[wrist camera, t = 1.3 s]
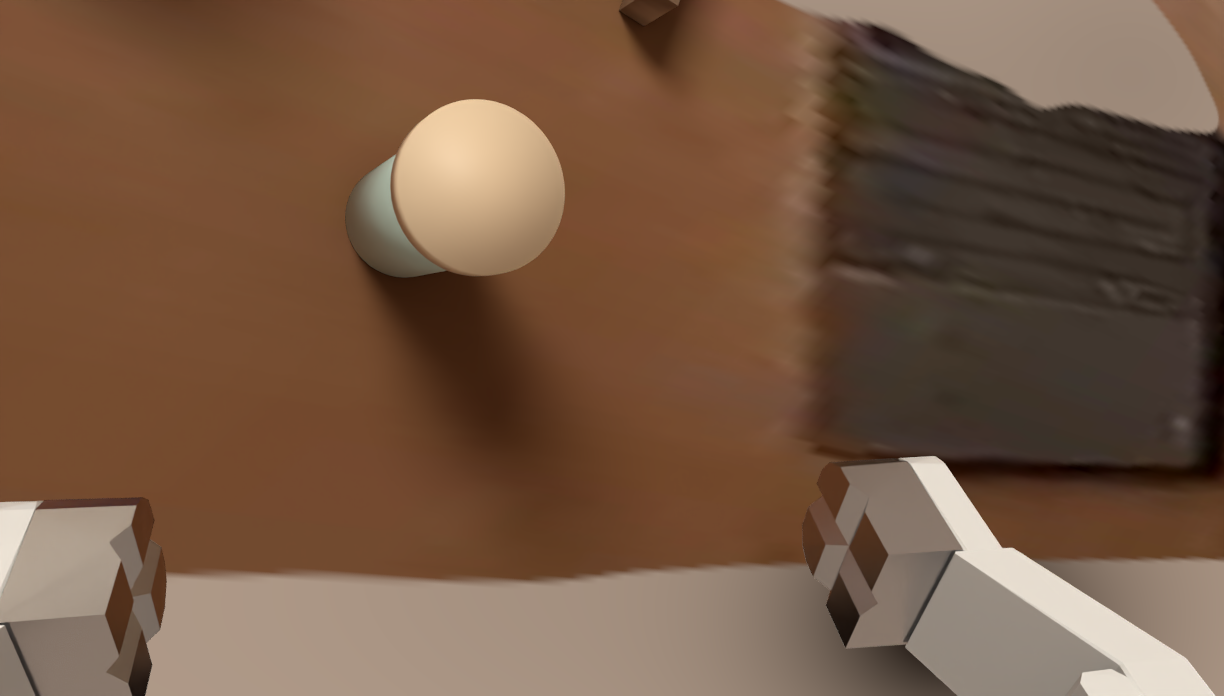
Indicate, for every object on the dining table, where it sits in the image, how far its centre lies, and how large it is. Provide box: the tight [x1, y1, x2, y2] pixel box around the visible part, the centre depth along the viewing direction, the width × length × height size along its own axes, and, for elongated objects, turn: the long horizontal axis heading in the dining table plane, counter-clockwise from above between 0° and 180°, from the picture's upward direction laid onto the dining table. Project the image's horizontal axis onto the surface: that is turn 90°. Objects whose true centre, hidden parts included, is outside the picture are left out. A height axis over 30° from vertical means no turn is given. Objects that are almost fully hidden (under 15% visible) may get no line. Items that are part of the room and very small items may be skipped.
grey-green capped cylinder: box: [345, 99, 565, 278], centre depth 33 cm, size 5×5×10 cm
